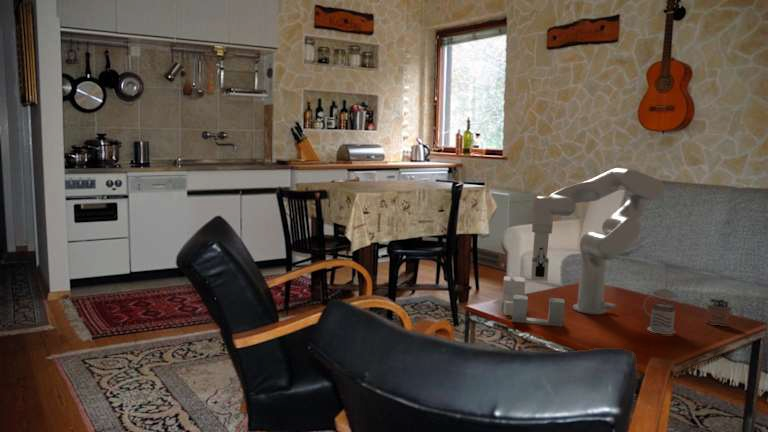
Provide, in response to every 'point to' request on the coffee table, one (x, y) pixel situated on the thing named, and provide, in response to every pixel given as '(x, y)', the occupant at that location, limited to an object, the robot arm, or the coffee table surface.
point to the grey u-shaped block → (520, 316)
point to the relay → (508, 307)
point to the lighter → (718, 312)
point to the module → (533, 270)
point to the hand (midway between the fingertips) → (539, 274)
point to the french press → (660, 325)
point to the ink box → (512, 287)
